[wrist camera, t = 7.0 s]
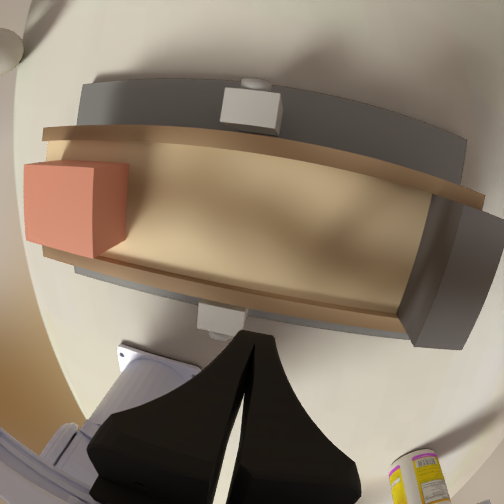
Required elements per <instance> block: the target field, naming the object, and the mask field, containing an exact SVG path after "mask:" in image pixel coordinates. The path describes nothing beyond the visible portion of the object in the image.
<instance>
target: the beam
mask: <svg viewBox="0 0 504 504" xmlns="http://www.w3.org/2000/svg"><path fill="white" fill-rule="evenodd" d="M42 141H48V144H47V157H46V162H47V161H55V160H79V161H98V162H114V163H127V164H129V175H128V189H127V207H126V240H125V241H123V242H121V243H119V244H118V245H116V246H114V247H112V248H111V249H109V250H107V251H106V252H104V253H102V254H100V255H99V256H97V257H95V258H94V259H92V258H88V257H84V256H80V255H77V254H73V253H69V252H66V251H62V250H58V249H55V248H51V247H48V246H44V245H42V248H43V256H44V257H47V258H50V259H54V260H57V261H60V262H64V263H67V264H70V265H74V266H77V267H81V268H84V269H88V270H91V271H95V272H98V273H102V274H105V275H109V276H113V277H116V278H120V279H124V280H128V281H132V282H136V283H139V284H143V285H147V286H151V287H155V288H160V289H164V290H168V291H172V292H176V293H180V294H185V295H189V296H194V297H198V298H203V299H207V300H212V301H216V302H221V303H226V304H230V305H235V306H240V307H245V308H250V309H255V310H260V311H266V312H271V313H276V314H282V315H287V316H293V317H299V318H304V319H310V320H316V321H323V322H329V323H335V324H342V325H348V326H355V327H362V328H369V329H377V330H384V331H392V332H400V333H407V335H408V337H409V338H410V340H411V342H412V344H413V346H414V347H423V348H435V349H449V350H462V349H463V347H464V345H465V343H466V341H467V339H468V337H469V335H470V333H471V331H472V329H473V327H474V325H475V322H476V320H477V318H478V316H479V314H480V311H481V309H482V307H483V304H484V302H485V299H486V297H487V295H488V292H489V289H490V287H491V284H492V282H493V279H494V276H495V273H496V270H497V267H498V264H499V261H500V258H501V255H502V252H503V249H504V219H501V218H499V217H496V216H494V215H491V214H489V213H486V212H484V211H482V208H483V204H484V199H485V195H483V194H481V193H478V192H476V191H473V190H470V189H468V188H465V187H463V186H460V185H457V184H455V183H452V182H449V181H446V180H443V179H440V178H438V177H435V176H432V175H429V174H426V173H423V172H419V171H416V170H413V169H410V168H406V167H403V166H400V165H396V164H393V163H389V162H386V161H382V160H378V159H375V158H371V157H367V156H363V155H359V154H355V153H351V152H347V151H342V150H338V149H333V148H329V147H324V146H319V145H314V144H309V143H304V142H298V141H293V140H287V139H281V138H275V137H269V136H262V135H255V134H248V133H240V132H232V131H223V130H213V129H203V128H191V127H176V126H157V125H78V126H60V127H47V128H43V138H42Z"/></svg>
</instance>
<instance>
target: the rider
mask: <svg viewBox="0 0 504 504" xmlns="http://www.w3.org/2000/svg"><path fill="white" fill-rule="evenodd" d="M128 175H129V164H127V163H114V162H98V161H79V160H55V161H47V162H39V163H32V164H26V165H24V218H25V233H26V240H27V241H30V242H34V243H37V244H41V245H44V246H48V247H51V248H55V249H58V250H62V251H66V252H69V253H73V254H77V255H80V256H84V257H88V258H92V259H94V258H95V257H97V256H99V255H100V254H102V253H104V252H106V251H107V250H109V249H111V248H112V247H114V246H116V245H118V244H119V243H121V242H123V241H125V240H126V207H127V189H128Z"/></svg>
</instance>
